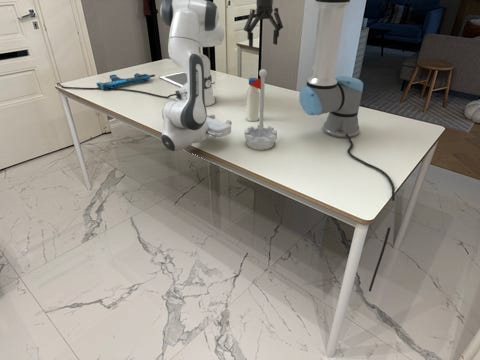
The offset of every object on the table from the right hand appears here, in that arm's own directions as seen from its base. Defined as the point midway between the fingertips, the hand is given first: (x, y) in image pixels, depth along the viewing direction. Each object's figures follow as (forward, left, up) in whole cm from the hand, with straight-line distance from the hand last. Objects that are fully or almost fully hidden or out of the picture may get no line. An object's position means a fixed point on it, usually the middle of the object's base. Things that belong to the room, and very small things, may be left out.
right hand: (263, 45), depth 167 cm
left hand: (-30, +35, -21) cm, 51 cm away
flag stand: (-45, +25, -28) cm, 59 cm away
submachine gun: (+65, +61, -28) cm, 93 cm away
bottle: (-21, +16, -28) cm, 38 cm away
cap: (-21, +16, -9) cm, 28 cm away
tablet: (+52, +26, -28) cm, 64 cm away
